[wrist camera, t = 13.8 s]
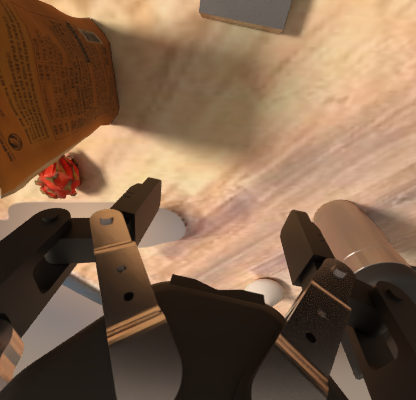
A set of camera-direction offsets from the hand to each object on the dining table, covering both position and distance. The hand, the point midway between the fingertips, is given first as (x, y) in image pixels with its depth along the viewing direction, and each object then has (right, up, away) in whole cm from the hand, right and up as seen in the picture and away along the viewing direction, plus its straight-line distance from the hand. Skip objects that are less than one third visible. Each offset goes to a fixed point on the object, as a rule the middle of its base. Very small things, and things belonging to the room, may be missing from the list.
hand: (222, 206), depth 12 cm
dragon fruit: (-34, +8, +36) cm, 50 cm away
